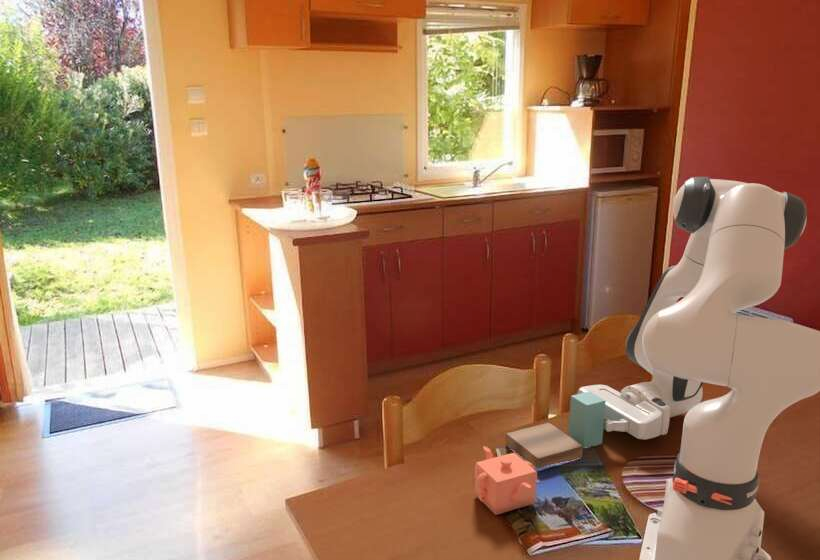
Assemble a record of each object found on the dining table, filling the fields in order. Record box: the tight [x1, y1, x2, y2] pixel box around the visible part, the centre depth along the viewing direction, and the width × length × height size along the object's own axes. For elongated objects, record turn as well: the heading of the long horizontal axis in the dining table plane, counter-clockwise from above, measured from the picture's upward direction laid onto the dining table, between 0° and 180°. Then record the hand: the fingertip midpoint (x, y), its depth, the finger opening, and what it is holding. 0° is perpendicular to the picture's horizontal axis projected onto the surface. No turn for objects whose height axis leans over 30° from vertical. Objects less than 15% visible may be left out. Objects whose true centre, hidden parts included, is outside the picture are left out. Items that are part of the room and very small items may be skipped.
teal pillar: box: [567, 391, 606, 448], centre depth 136 cm, size 5×5×10 cm
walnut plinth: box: [505, 422, 584, 469], centre depth 133 cm, size 11×11×3 cm
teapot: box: [474, 446, 538, 516], centre depth 116 cm, size 12×15×8 cm
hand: (589, 417), depth 136 cm, fingers open, 8 cm apart
